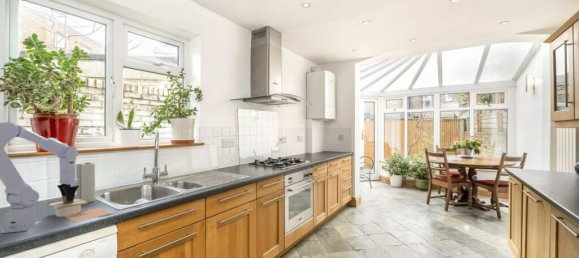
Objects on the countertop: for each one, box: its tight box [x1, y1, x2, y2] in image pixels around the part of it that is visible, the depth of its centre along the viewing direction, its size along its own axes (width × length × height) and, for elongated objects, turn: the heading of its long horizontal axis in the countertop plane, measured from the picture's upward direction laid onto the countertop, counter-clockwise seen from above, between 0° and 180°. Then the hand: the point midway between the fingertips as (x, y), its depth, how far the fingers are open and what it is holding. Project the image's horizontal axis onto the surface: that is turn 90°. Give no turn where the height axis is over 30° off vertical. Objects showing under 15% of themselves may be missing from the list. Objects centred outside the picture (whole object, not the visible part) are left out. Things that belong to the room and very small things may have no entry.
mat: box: [63, 207, 111, 223], centre depth 120 cm, size 14×14×1 cm
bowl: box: [54, 205, 82, 218], centre depth 122 cm, size 9×9×4 cm
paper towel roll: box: [75, 162, 96, 204], centre depth 142 cm, size 7×6×21 cm
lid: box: [48, 195, 88, 210], centre depth 122 cm, size 11×11×4 cm
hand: (68, 199), depth 122 cm, fingers open, 5 cm apart
